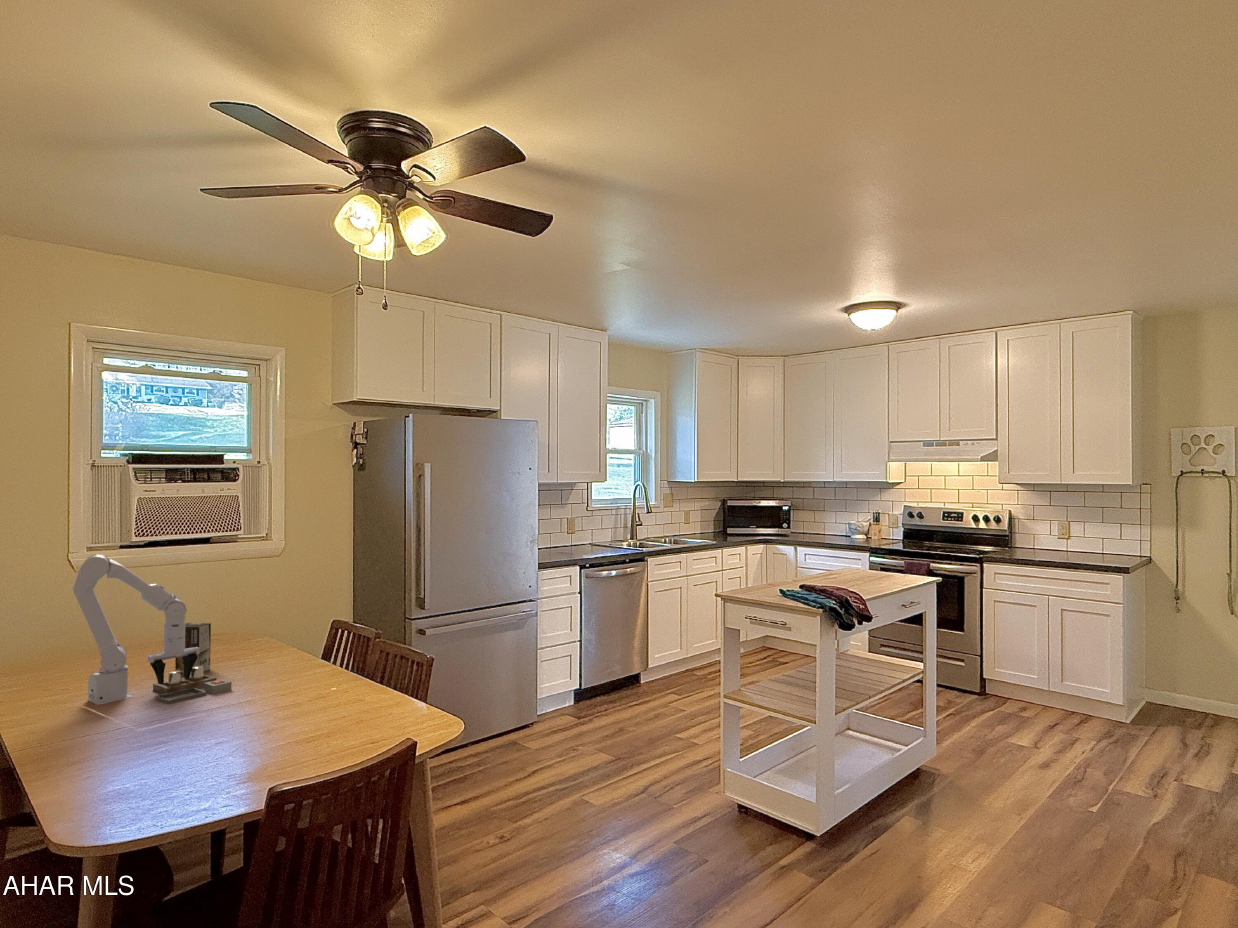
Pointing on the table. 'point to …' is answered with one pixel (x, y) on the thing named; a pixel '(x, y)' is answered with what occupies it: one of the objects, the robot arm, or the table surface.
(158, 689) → the pallet
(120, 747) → the table surface
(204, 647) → the coffee box
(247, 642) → the table surface
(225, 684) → the button housing
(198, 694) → the shallow grey tray
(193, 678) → the billet
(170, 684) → the block
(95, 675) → the robot arm
